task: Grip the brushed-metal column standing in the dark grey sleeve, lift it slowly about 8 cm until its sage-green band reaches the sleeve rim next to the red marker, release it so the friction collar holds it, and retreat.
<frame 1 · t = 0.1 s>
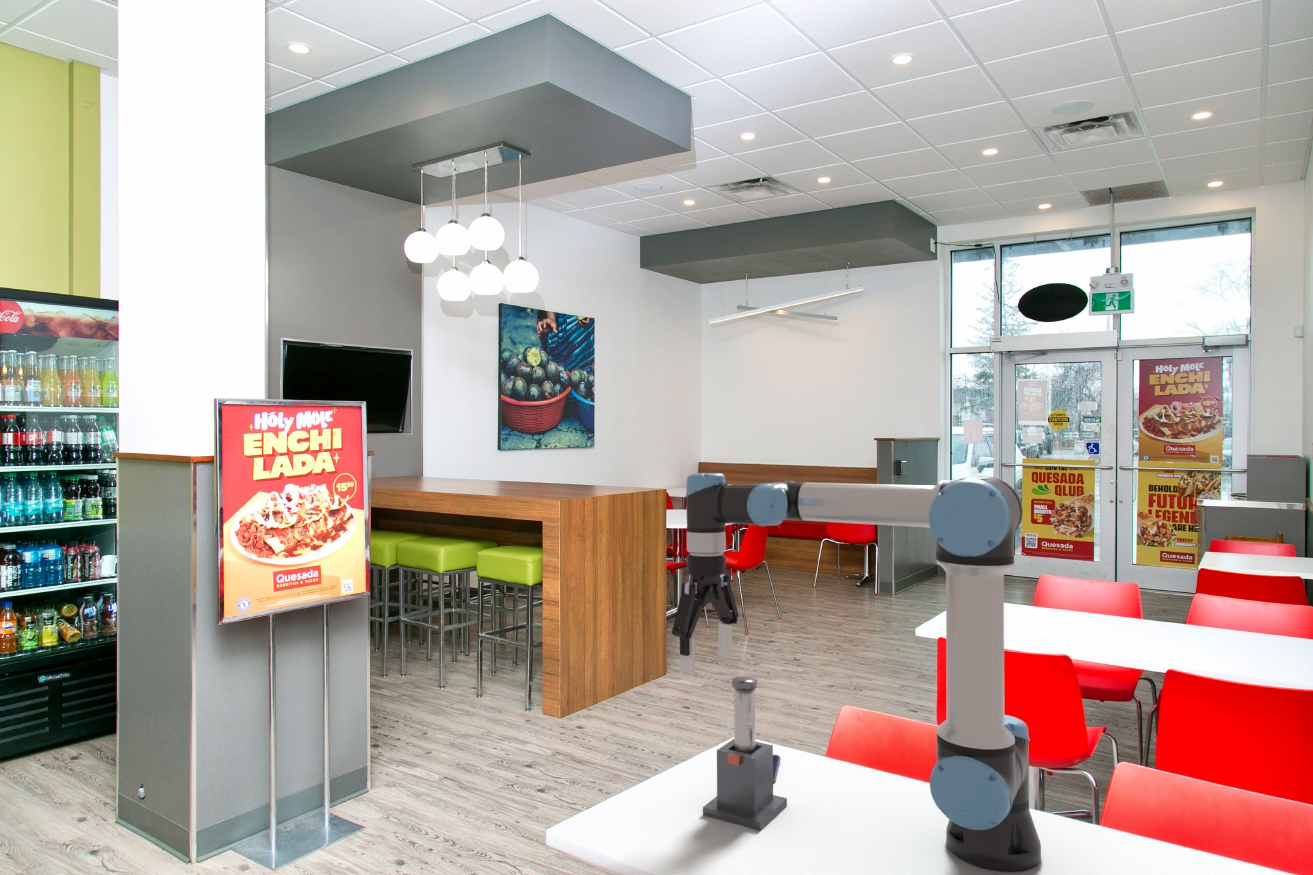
hand: (707, 664, 156), 28 cm above the table, fingers open, 13 cm apart
column: (744, 740, 156), point 13 cm above the table, slide at 0.0 cm
stand base: (745, 810, 156), on the table
smartphone: (761, 771, 176), on the table
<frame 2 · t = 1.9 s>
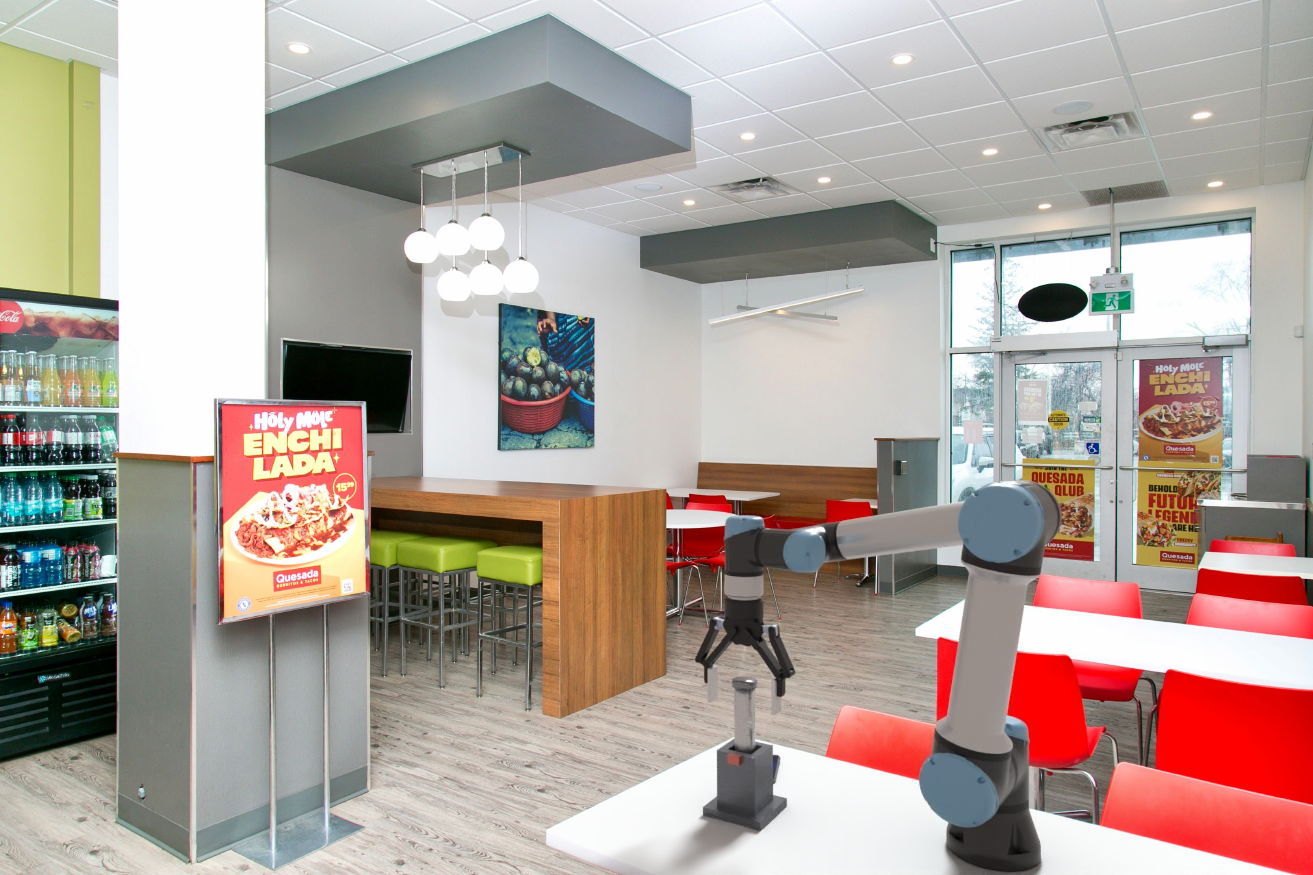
hand: (743, 706, 156), 20 cm above the table, fingers open, 13 cm apart
nothing on the table moved.
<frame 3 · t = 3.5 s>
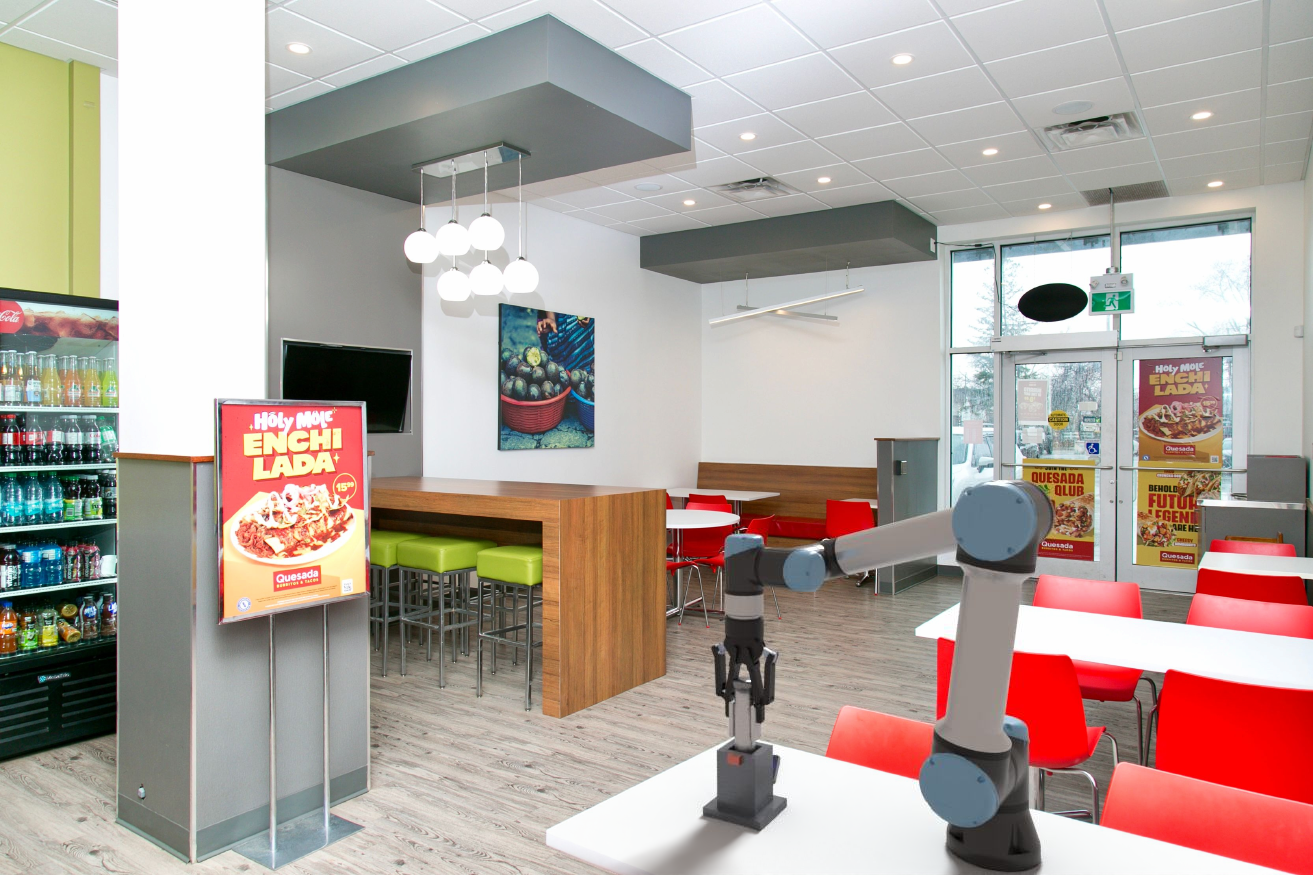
hand: (744, 736, 156), 14 cm above the table, fingers closed on column, 4 cm apart
column: (744, 740, 156), point 13 cm above the table, slide at 0.0 cm, touching gripper
everything else where it was.
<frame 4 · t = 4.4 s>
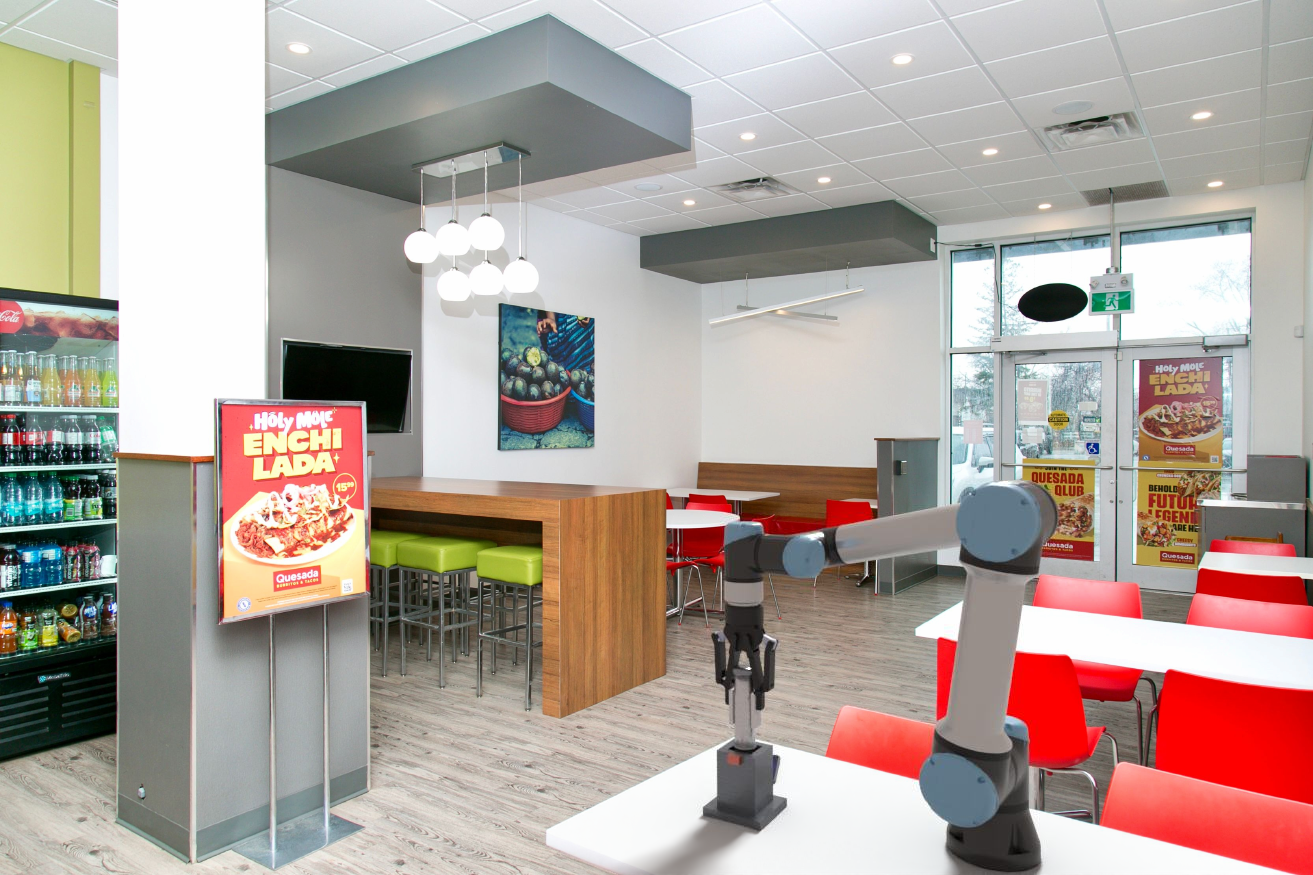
hand: (744, 723, 156), 17 cm above the table, fingers closed on column, 4 cm apart
column: (744, 727, 156), point 16 cm above the table, slide at 2.4 cm, touching gripper
everything else where it was.
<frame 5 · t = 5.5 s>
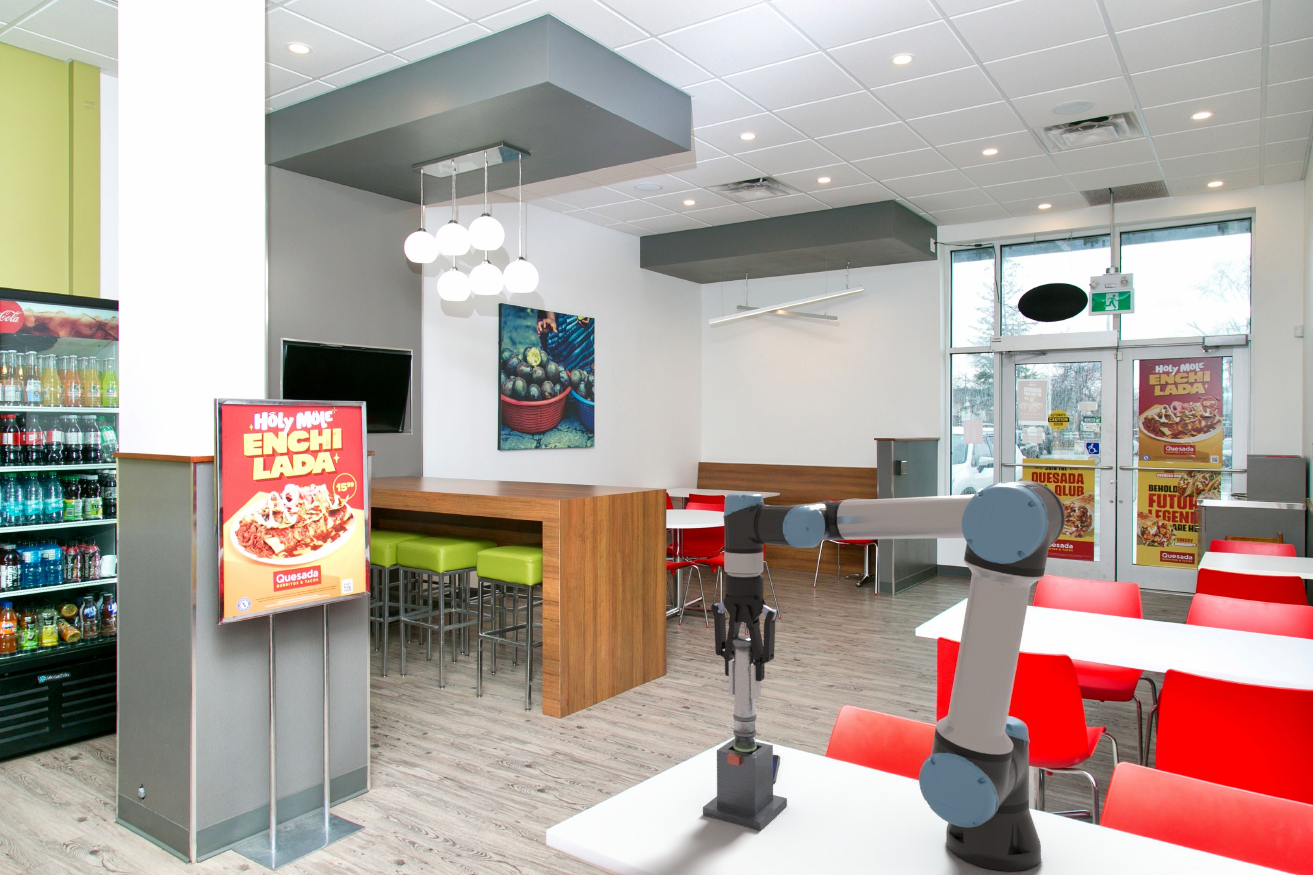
hand: (744, 694, 156), 22 cm above the table, fingers closed on column, 4 cm apart
column: (744, 698, 156), point 21 cm above the table, slide at 8.0 cm, touching gripper
everything else where it was.
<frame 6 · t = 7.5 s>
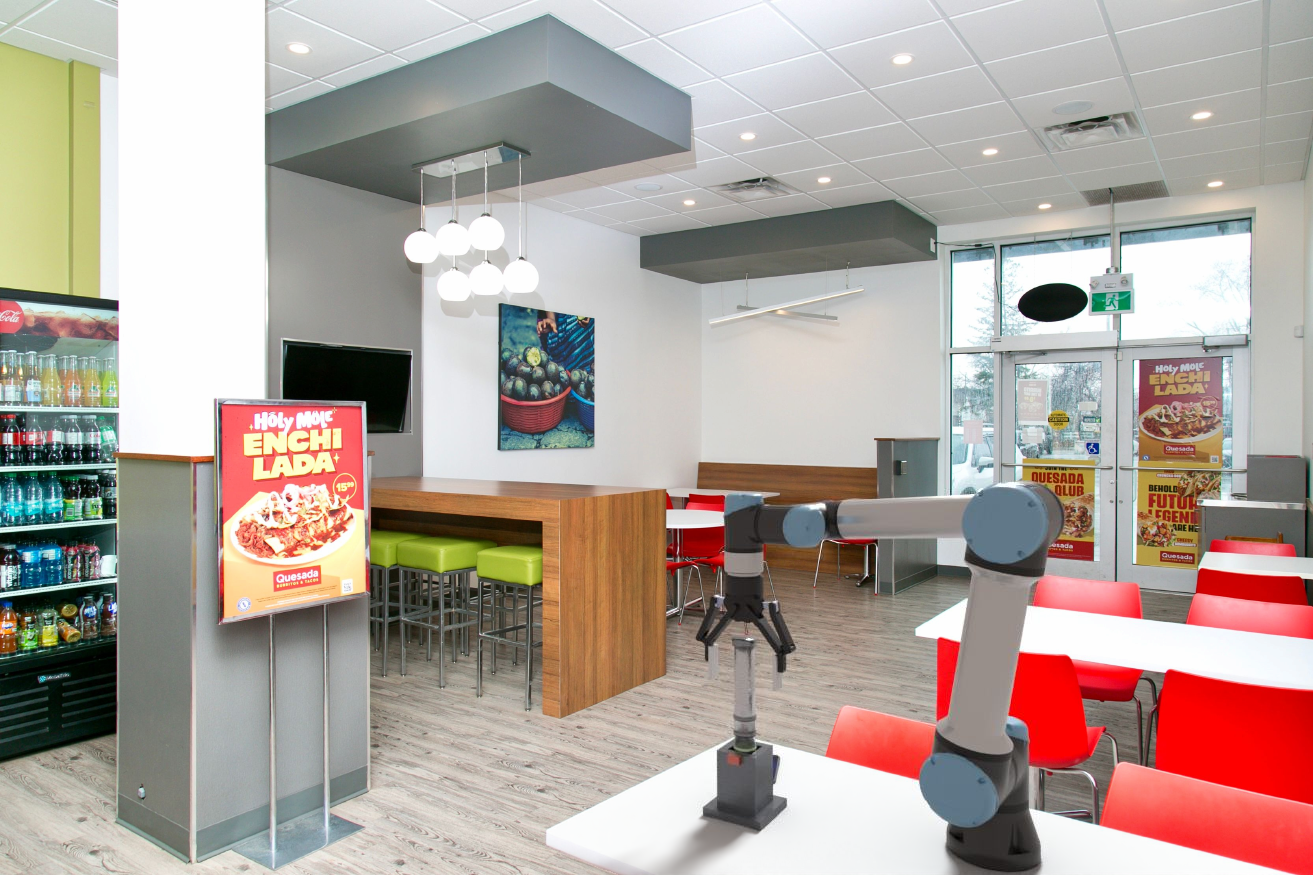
hand: (744, 683, 156), 24 cm above the table, fingers open, 13 cm apart
column: (744, 698, 156), point 21 cm above the table, slide at 8.0 cm
everything else where it was.
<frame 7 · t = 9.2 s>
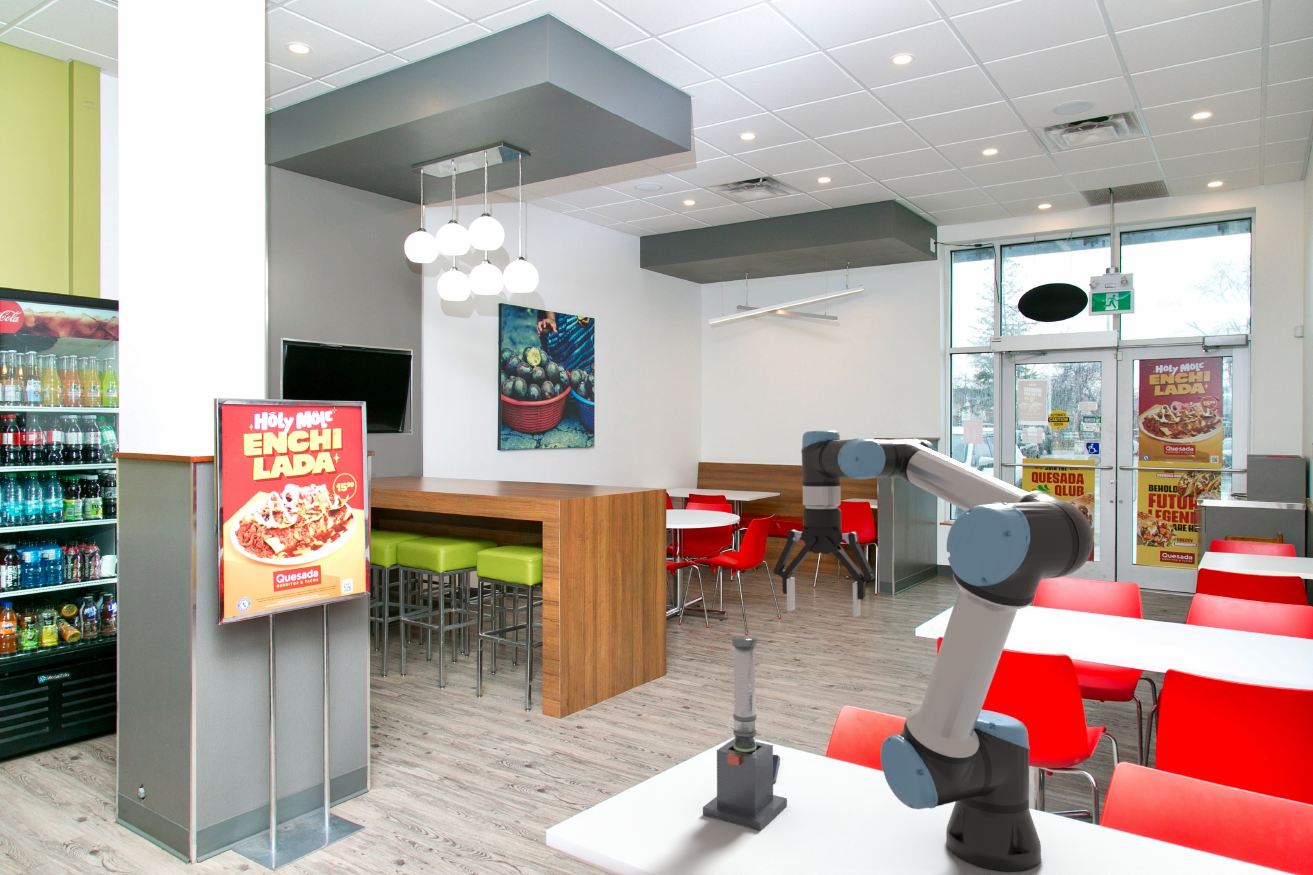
hand: (823, 613, 163), 36 cm above the table, fingers open, 13 cm apart
nothing on the table moved.
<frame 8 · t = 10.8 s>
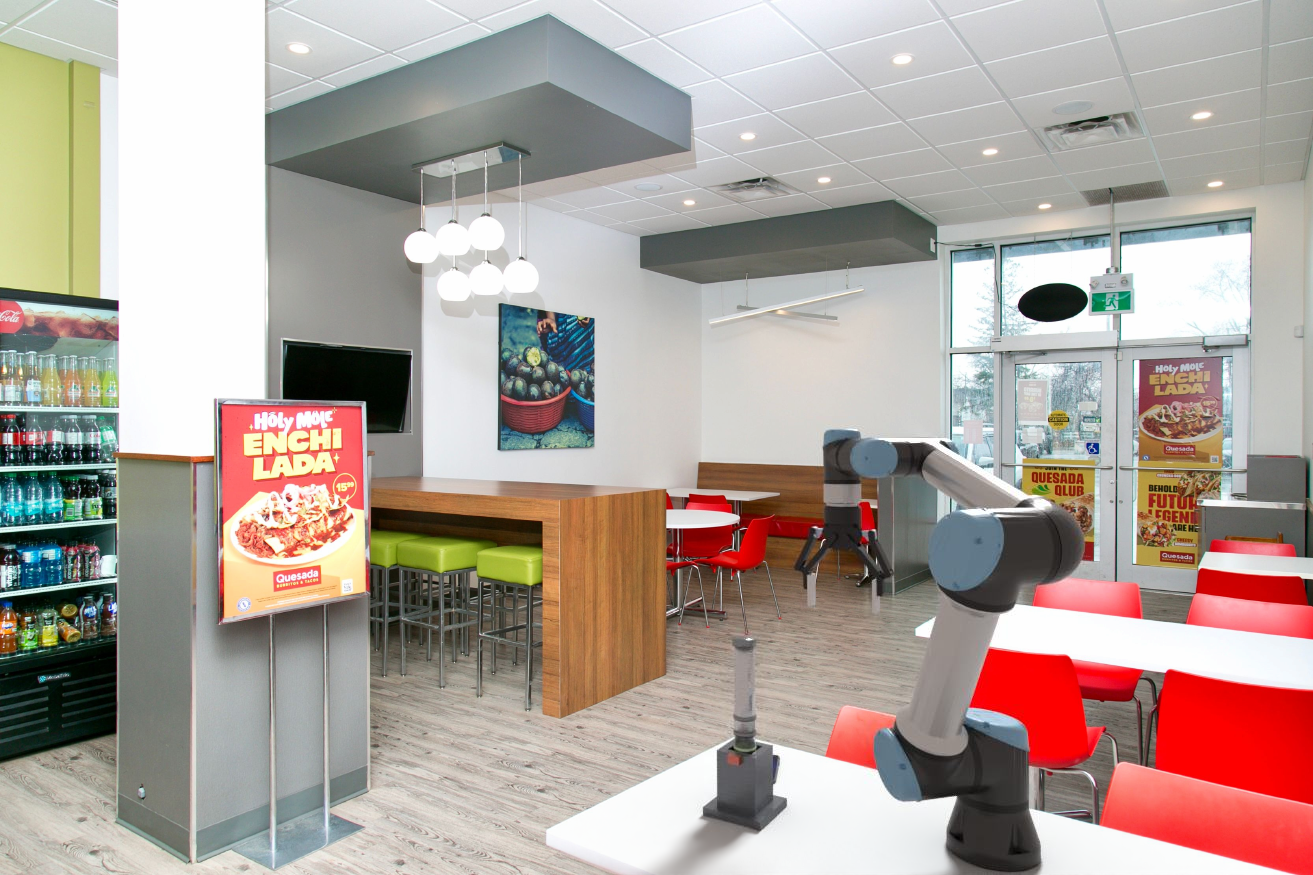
hand: (843, 608, 165), 37 cm above the table, fingers open, 13 cm apart
nothing on the table moved.
at the end: column slide at 8.0 cm; the gripper is holding nothing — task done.
